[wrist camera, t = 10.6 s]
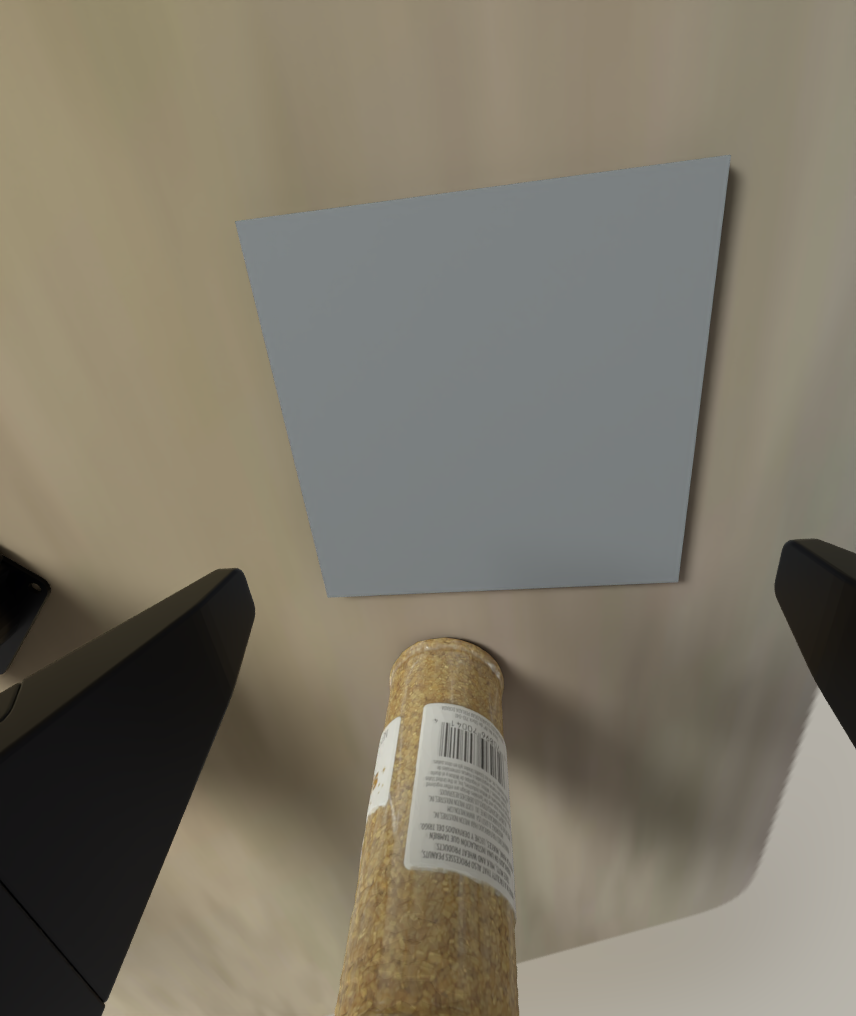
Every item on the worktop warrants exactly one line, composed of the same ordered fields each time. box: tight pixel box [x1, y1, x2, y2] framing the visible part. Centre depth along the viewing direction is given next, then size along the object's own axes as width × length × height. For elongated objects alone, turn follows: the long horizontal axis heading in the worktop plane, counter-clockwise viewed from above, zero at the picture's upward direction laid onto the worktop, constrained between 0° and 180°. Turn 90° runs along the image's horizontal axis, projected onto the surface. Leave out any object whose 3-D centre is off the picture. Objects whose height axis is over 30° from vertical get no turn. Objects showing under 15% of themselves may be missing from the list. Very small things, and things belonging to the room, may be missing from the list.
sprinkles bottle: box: [335, 638, 519, 1016], centre depth 16 cm, size 5×5×13 cm
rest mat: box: [235, 155, 731, 597], centre depth 16 cm, size 12×12×1 cm
